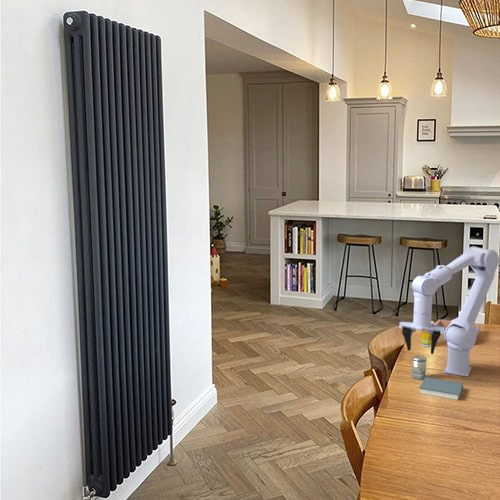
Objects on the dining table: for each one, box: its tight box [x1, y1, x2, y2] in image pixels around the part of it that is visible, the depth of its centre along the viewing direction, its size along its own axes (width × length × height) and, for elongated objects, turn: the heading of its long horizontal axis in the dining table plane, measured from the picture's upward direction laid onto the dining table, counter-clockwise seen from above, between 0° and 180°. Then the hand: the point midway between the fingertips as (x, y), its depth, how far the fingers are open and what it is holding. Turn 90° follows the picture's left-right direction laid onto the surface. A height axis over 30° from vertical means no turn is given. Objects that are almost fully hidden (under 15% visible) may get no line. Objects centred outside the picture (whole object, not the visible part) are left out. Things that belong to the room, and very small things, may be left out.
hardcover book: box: [418, 376, 464, 401], centre depth 199 cm, size 10×12×2 cm
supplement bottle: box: [420, 320, 435, 348], centre depth 245 cm, size 5×5×10 cm
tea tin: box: [411, 355, 427, 381], centre depth 211 cm, size 5×5×7 cm
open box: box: [434, 318, 481, 343], centre depth 257 cm, size 17×17×4 cm
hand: (420, 351), depth 209 cm, fingers open, 7 cm apart
